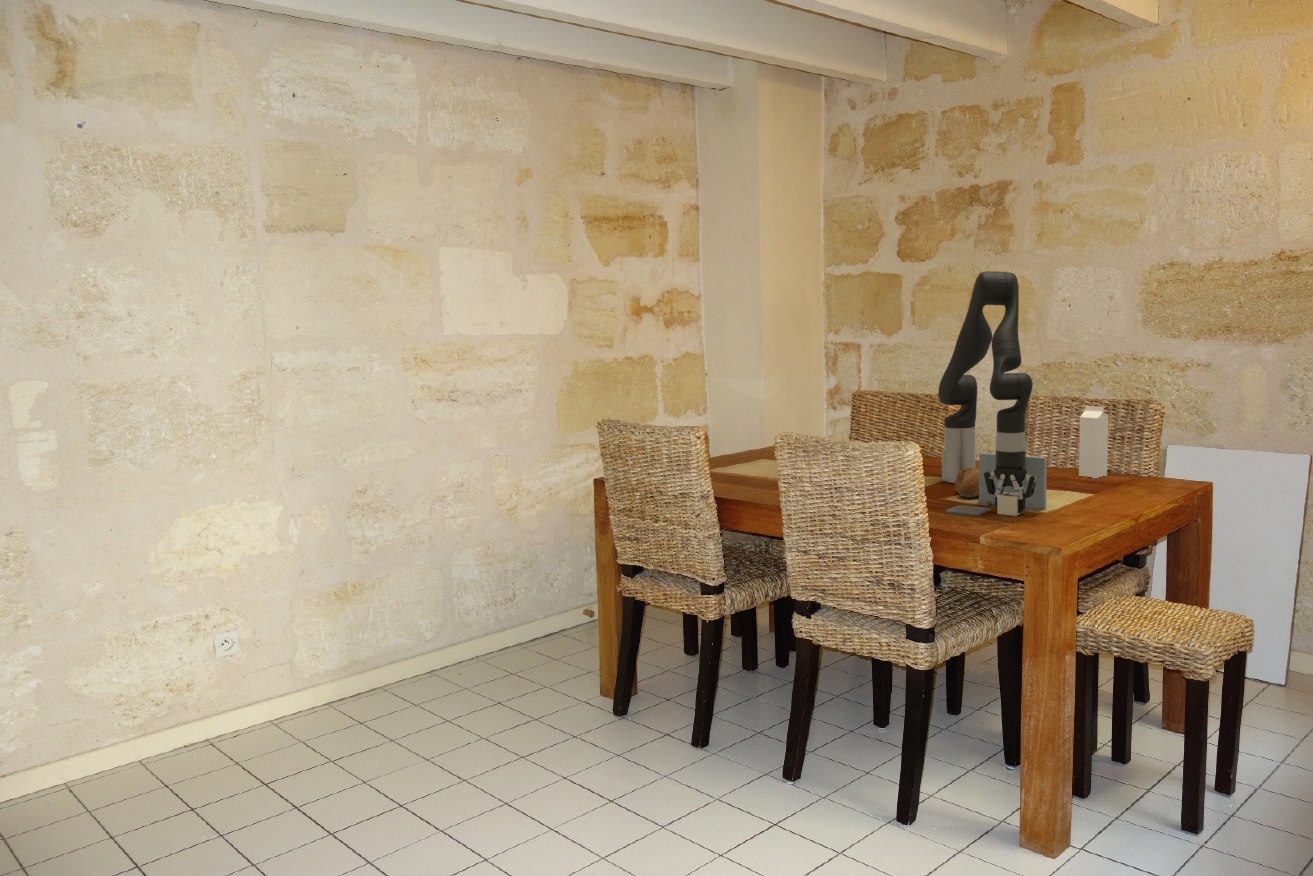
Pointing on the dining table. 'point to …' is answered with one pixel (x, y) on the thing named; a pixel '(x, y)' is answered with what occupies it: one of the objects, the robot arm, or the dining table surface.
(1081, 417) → the milk
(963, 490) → the bread roll
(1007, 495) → the letter cube
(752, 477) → the dining table surface
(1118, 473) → the dining table surface
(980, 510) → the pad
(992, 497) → the screen
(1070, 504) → the dining table surface
